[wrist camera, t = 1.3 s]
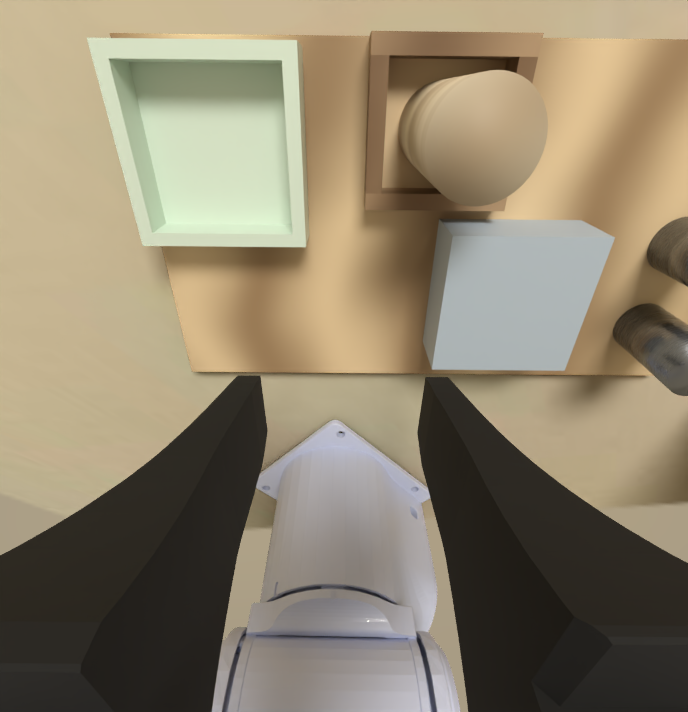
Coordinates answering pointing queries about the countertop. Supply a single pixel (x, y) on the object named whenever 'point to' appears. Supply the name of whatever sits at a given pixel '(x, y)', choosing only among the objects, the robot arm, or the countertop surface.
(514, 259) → the slate block
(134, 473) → the robot arm
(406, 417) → the countertop surface
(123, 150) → the sage tray
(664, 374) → the bench dogs
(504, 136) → the beech dowel
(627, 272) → the bench board
